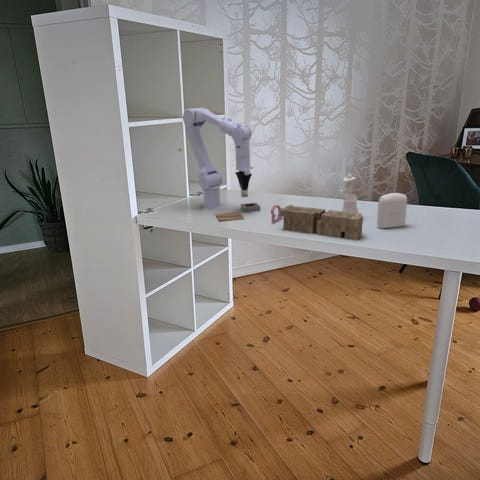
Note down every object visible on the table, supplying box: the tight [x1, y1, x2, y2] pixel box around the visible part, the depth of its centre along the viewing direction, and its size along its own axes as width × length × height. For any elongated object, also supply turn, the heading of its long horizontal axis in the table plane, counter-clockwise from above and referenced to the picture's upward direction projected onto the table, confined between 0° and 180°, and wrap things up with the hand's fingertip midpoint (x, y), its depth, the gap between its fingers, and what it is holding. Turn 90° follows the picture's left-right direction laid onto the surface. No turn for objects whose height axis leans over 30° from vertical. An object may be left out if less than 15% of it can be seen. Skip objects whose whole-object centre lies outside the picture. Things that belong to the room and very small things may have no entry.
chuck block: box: [240, 202, 261, 213], centre depth 188 cm, size 7×7×2 cm
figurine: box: [339, 172, 359, 213], centre depth 168 cm, size 7×8×18 cm
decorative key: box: [270, 204, 284, 223], centre depth 175 cm, size 7×1×20 cm
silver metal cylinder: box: [240, 187, 249, 198], centre depth 182 cm, size 3×3×6 cm
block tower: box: [280, 204, 364, 241], centre depth 155 cm, size 8×8×29 cm
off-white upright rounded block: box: [376, 192, 408, 229], centre depth 156 cm, size 10×4×12 cm, turn 103°
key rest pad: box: [214, 211, 245, 223], centre depth 178 cm, size 10×10×1 cm
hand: (244, 189), depth 182 cm, fingers closed on silver metal cylinder, 3 cm apart
